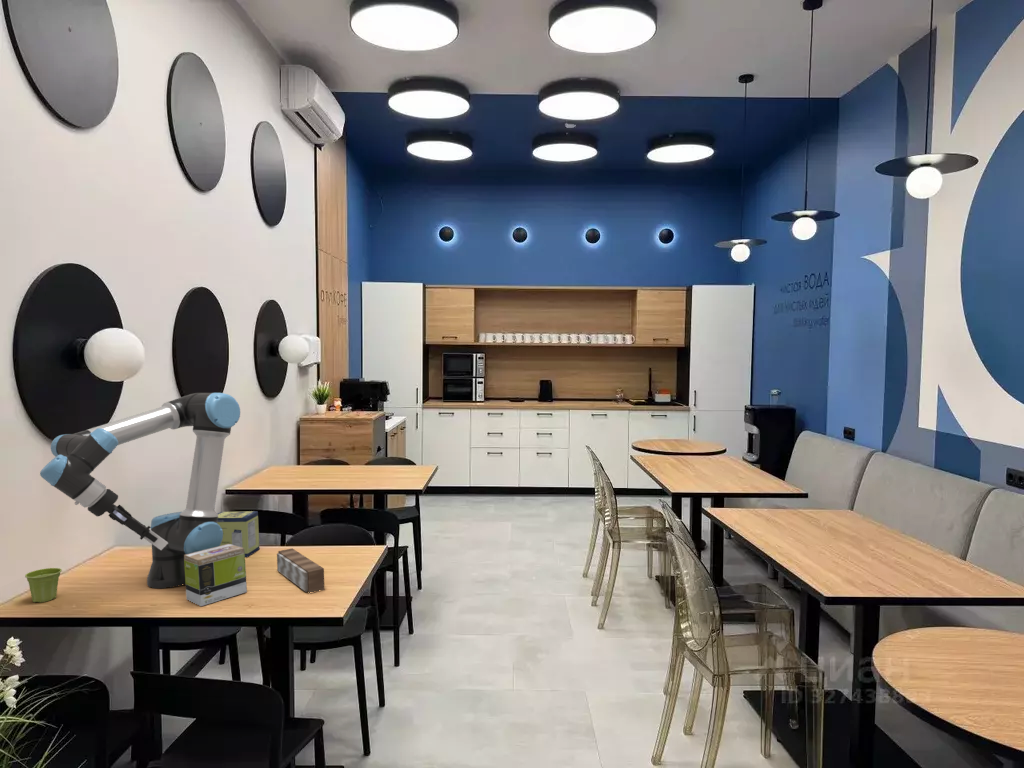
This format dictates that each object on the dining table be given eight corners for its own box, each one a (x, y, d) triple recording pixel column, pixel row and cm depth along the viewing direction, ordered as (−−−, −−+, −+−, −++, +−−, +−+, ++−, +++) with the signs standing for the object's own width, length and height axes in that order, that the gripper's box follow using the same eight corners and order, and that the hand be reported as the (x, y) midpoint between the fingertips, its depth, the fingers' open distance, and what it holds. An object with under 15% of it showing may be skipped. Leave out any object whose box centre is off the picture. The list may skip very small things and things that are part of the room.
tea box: (232, 586, 210) (230, 542, 210) (247, 593, 204) (245, 547, 203) (185, 600, 198) (183, 553, 198) (199, 607, 192) (198, 559, 192)
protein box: (221, 550, 253) (220, 511, 253) (260, 549, 253) (258, 510, 252) (208, 558, 243) (206, 517, 242) (248, 557, 242) (247, 517, 242)
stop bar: (276, 571, 225) (275, 551, 225) (292, 567, 229) (292, 548, 229) (306, 594, 202) (306, 572, 201) (324, 589, 205) (323, 568, 205)
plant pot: (60, 591, 208) (59, 565, 208) (65, 599, 201) (64, 572, 201) (24, 599, 202) (23, 572, 202) (28, 607, 195) (27, 579, 195)
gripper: (84, 505, 185) (150, 551, 195) (87, 512, 174) (158, 561, 185) (105, 484, 188) (169, 531, 198) (110, 490, 177) (178, 540, 188)
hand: (164, 546), depth 191 cm, fingers closed
